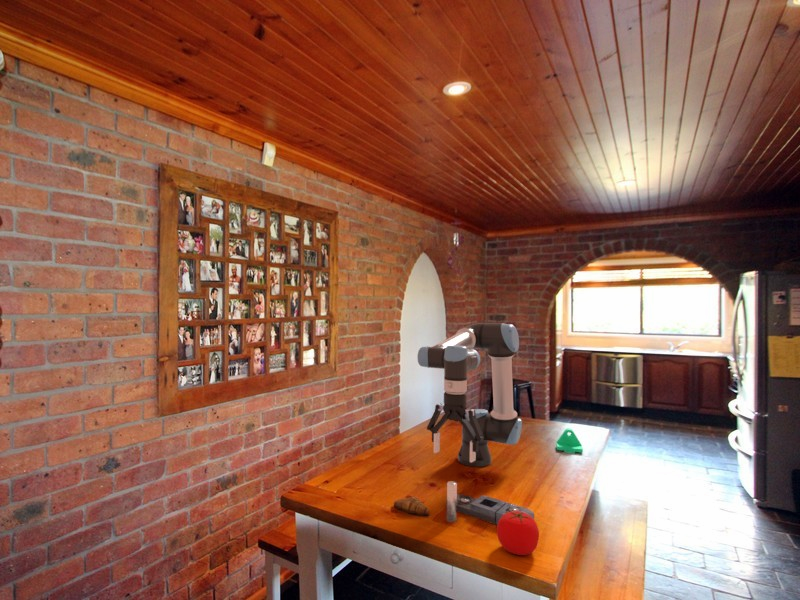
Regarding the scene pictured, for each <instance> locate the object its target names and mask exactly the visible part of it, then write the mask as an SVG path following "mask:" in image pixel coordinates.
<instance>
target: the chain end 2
mask: <svg viewBox="0 0 800 600" xmlns="http://www.w3.org/2000/svg"><path fill="white" fill-rule="evenodd" d="M485 505H488V506H492V507H488V506H485ZM470 510H472V511H475V512H478V513H481V514H484V515H487V516H490V517H493V518H496V524H495V525H496V526H497V525H498V522H499V520H500V518H501V517H502V516H503V515H504V514H506V513H508V512H512V511H520V512H524V513H526V514H528V515H529V516H531V517H532V518H533V519H534V520H535V512H534V511H532V510H531V509H528V508H526V507H524V506H519V505H517V504H513V503H510V502H507V501H503V500H500V499H497V498H493V497H490V496H487V495H483V494H482V495H481V496H479V497H478V498H476V500H475V501H474V502H472V503H471V504H470Z"/></svg>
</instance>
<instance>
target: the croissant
mask: <svg viewBox="0 0 800 600" xmlns="http://www.w3.org/2000/svg"><path fill="white" fill-rule="evenodd" d="M393 506H394V507H395V508H396V509H398V510H400V511H403V512H404V513H407V514H412V515H416V516H422V517H425V516H427V517H428V516H429V515H430V509H429V508H428V507H427V505H425V504H424V503H423V502H421V500H420V499H419V498H418V497H414V496H410V497H406V498H401V499H396V500H395V501H394V502H393Z"/></svg>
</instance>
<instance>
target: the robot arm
mask: <svg viewBox="0 0 800 600" xmlns="http://www.w3.org/2000/svg"><path fill="white" fill-rule="evenodd" d="M519 348H520V337H519V332H518V330H517V328H516V326H514V324H511V323H508V324H507V323H501V322H500V323H497V322H495V323H492V322H491V323H489V322H477V323H472V324H469V325H467V326H464V327H461V328H460V329H459V330H457V331H456V332H455V334H454V335H452V336H450V337H448V338H447V339H444V340H443V341H441V342H439V343H437V344H435V345H433V346H421V347H420V348H419V349H418V352H417V363H418V365H419V366H420V367H424V368H428V369H429V368H431V369H442V370H444V372H443V375H444V376H443V378H444V379H443V391H444V393H443V403H441V402H440V403H437V404H435V407H434V412H433V414H432V415H431V418H430V421H429V422H428V424H427V426H426V430H427V431H430V432H431V442H432V443H433V454H437V453H439V452H440V451H441V450H440V443H441V433H440V431H439V430H440V429H441V427H442V426H444V424H445V423H446V422H447V421H448V420H449V421H454V422H456V423H458V422H459V424H461V425H462V426H461V428H462V429H461V444H460V447H459V451H458V454H457V460H458V463H460V464H462V465H464V466H465V465H466V466H470V467H475V468H477V467H478V468H479V467H486V466H489V465H491V463H492V455H491V452H490V448H489V446H488V442H494V443H499V444H504V445H513V446H514V445H517V444H518V442H520V437H521V434H522V430H523V420H522V418H520V417H518V412H517V411H516V410H515V409H514V387H513V385H514V384H513V383H514V382H513V362H512V358H514V356H516V352H518V351H519ZM477 350H484V351H485V350H486V351H487V356H488V357H489V358H490V359H491V379H492V398H493V399H492V400H493V409H492V411H490V413H489V411H488V409H483V408H477V409H474V408H472V409H467V390H468V389H467V387H468V384H467V383H468V382H467V381H468V372H471V371H473V370H475V369H476V368H479V366H480V363H481V356H480V353H479V352H478V351H477ZM442 411H443V412H444V414H443V415H442V417H441V419H440V420H439V417H440V415H441V413H442Z"/></svg>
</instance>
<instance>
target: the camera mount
mask: <svg viewBox="0 0 800 600" xmlns="http://www.w3.org/2000/svg"><path fill="white" fill-rule="evenodd" d="M568 433H570V434H568ZM555 444H556V450H557V451H564V453H565V454H568V453H569V454H574V453H583V452H584V451H583V450H584V448H583V445H582V443H581V442H580V440H579V439H578V437H577V435H576V433H575V432H574V430H573V429H571V428H566V429H565V430H564V431H563V432H562V434H561V435H560V436H559V437H558V439H557V440H556V442H555Z"/></svg>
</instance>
